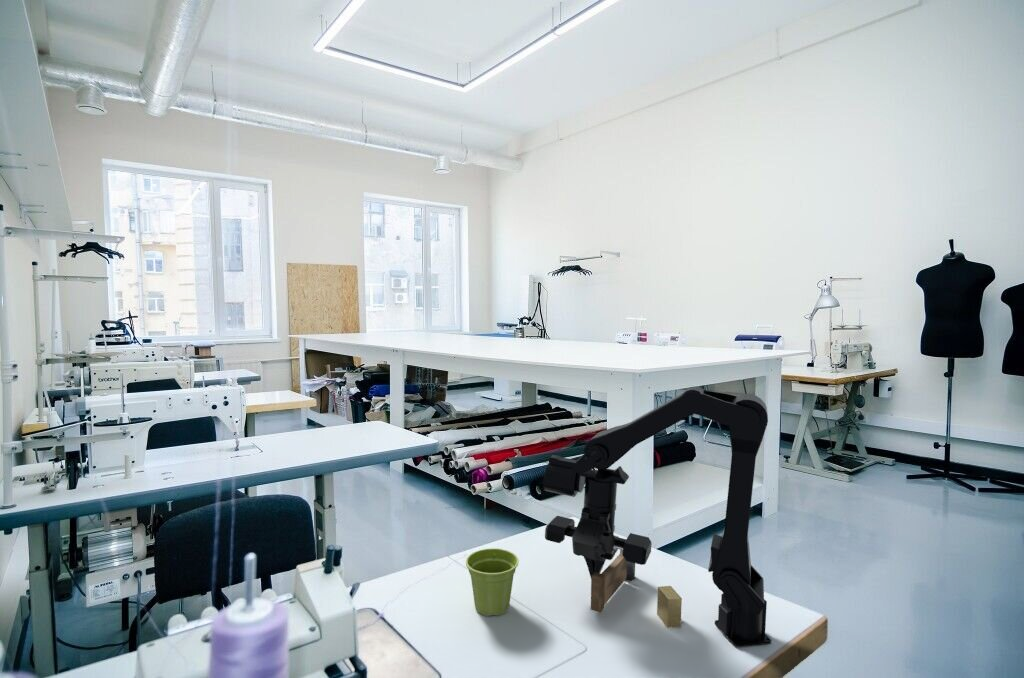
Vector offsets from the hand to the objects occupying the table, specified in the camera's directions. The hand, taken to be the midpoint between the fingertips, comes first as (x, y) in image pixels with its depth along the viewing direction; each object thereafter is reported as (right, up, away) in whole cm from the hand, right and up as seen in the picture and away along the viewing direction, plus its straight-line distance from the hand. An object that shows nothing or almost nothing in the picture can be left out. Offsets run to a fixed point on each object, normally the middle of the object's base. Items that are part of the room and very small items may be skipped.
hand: (594, 582), depth 98 cm
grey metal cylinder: (+8, -2, +7) cm, 11 cm away
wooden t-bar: (+3, -2, 0) cm, 3 cm away
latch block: (+12, -3, -7) cm, 14 cm away
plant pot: (-19, -3, -3) cm, 19 cm away
